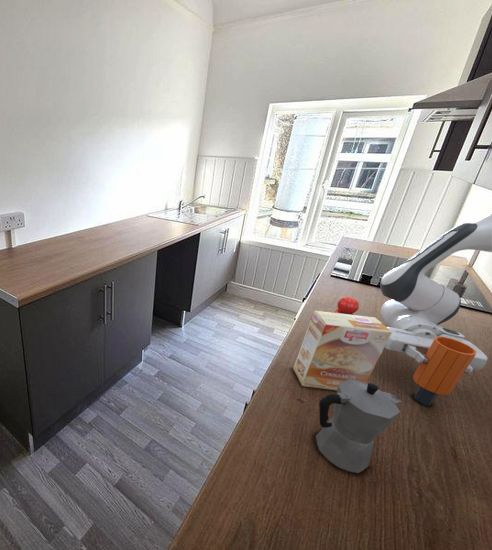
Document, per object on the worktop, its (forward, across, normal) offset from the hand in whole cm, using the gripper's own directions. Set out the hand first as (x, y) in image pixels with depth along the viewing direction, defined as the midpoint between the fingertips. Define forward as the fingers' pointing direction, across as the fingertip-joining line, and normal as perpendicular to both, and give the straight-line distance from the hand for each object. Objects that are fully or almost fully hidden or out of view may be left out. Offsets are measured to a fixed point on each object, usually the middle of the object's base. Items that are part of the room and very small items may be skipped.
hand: (445, 366), depth 70 cm
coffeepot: (+25, -25, +12) cm, 37 cm away
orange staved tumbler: (-1, 0, +6) cm, 7 cm away
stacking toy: (-15, -18, +12) cm, 26 cm away
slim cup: (-1, 0, +12) cm, 12 cm away
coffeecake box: (+2, -22, +12) cm, 25 cm away
